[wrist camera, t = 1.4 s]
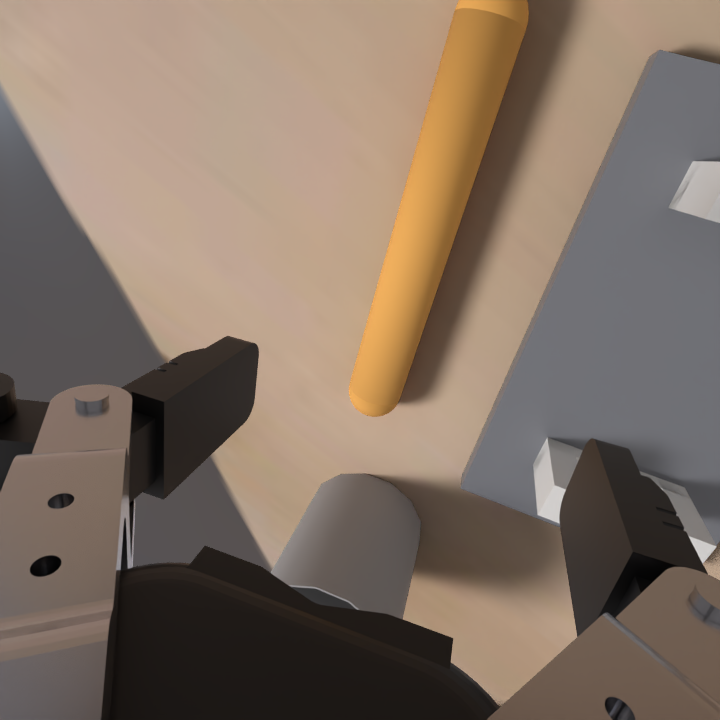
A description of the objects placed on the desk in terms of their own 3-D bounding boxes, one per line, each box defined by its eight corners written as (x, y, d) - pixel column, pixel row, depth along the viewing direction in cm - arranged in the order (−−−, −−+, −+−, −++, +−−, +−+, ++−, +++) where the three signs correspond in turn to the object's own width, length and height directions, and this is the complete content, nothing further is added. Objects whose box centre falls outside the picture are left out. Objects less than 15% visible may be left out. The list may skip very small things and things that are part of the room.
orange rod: (397, 408, 31) (386, 433, 28) (351, 391, 32) (336, 414, 29) (538, -3, 21) (543, -28, 19) (469, -20, 22) (464, -46, 19)
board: (462, 474, 31) (453, 538, 26) (649, 56, 21) (699, 21, 16) (681, 558, 29) (720, 647, 24) (1009, 144, 19) (1206, 139, 14)
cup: (438, 558, 35) (414, 695, 26) (340, 572, 38) (289, 698, 29) (392, 461, 33) (350, 575, 24) (293, 485, 36) (223, 592, 27)
